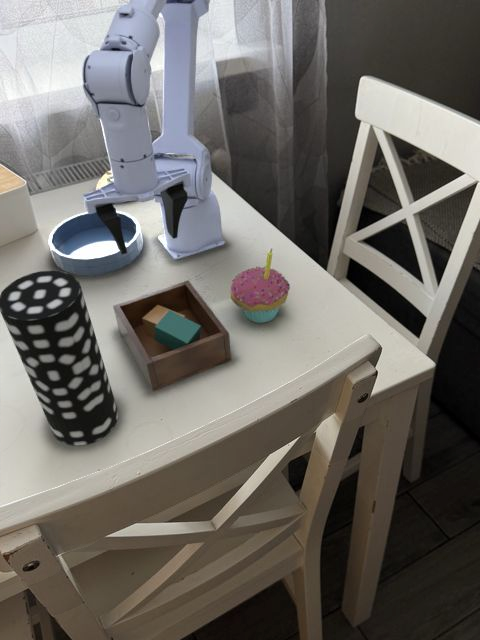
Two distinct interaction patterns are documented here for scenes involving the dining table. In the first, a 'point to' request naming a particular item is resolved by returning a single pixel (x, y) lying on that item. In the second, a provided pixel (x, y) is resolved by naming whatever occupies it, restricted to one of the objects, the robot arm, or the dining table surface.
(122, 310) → the holder
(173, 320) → the teal block
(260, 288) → the cupcake
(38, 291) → the white-spotted black cylinder
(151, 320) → the brown block
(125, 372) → the dining table surface
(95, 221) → the bowl
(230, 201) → the dining table surface
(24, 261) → the dining table surface
